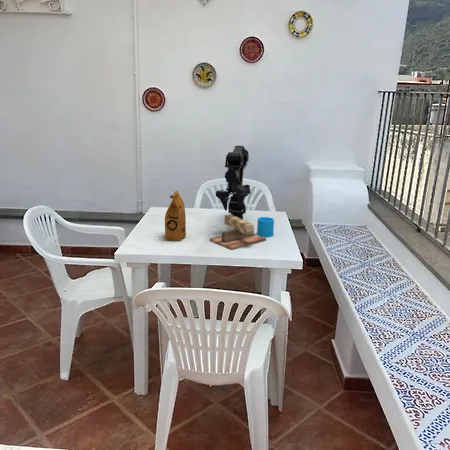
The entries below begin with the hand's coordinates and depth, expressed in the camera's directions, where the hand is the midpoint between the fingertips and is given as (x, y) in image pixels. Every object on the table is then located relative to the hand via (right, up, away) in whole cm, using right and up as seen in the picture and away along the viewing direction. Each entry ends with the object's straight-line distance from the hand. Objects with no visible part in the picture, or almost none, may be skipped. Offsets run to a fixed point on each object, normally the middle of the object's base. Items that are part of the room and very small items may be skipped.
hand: (232, 209), depth 221 cm
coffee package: (-28, -14, -7) cm, 32 cm away
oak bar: (+2, -10, -11) cm, 15 cm away
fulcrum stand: (+2, -15, -10) cm, 18 cm away
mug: (+17, -12, +2) cm, 21 cm away
